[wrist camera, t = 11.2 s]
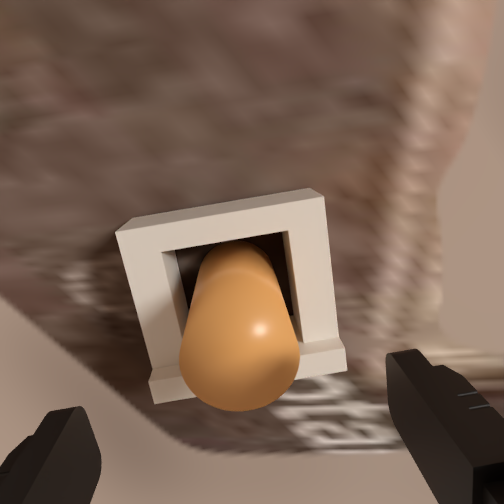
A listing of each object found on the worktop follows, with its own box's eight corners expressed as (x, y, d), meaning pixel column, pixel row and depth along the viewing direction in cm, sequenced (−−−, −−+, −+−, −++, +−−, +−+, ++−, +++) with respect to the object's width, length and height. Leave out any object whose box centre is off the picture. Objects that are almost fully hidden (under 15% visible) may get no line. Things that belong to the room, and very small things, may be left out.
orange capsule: (191, 247, 20) (166, 316, 12) (268, 234, 20) (291, 295, 12) (206, 317, 21) (192, 420, 13) (279, 304, 21) (306, 400, 13)
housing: (132, 217, 19) (107, 237, 15) (309, 187, 19) (329, 200, 15) (168, 356, 21) (154, 404, 18) (326, 329, 21) (347, 370, 18)
